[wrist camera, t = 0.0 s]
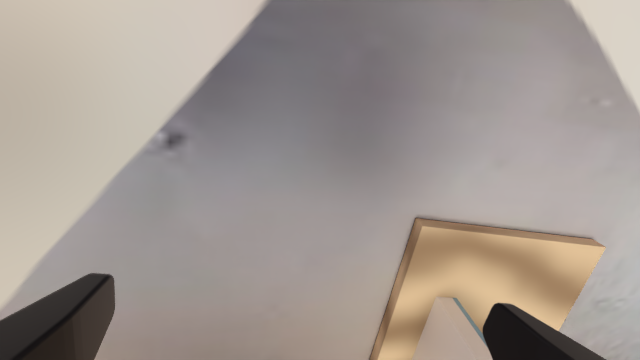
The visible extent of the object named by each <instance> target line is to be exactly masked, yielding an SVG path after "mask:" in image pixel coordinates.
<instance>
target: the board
mask: <svg viewBox="0 0 640 360" xmlns="http://www.w3.org/2000/svg"><path fill="white" fill-rule="evenodd" d="M605 248H606V247H605V246H603V245H601V244H600V243H598V242H596V241H595V240H593V239H586V238H577V237H569V236H561V235H552V234H544V233H536V232H527V231H519V230H511V229H502V228H494V227H486V226H477V225H469V224H461V223H452V222H444V221H436V220H427V219H419V218H416V219H415V222H414V225H413V228H412V231H411V235H410V238H409V241H408V244H407V247H406V250H405V253H404V256H403V259H402V262H401V265H400V268H399V271H398V274H397V277H396V281H395V284H394V287H393V290H392V293H391V296H390V299H389V302H388V305H387V308H386V311H385V314H384V317H383V320H382V324H381V327H380V330H379V333H378V336H377V339H376V342H375V345H374V348H373V351H372V354H371V357H370V360H412V358H413V355H414V353H415V350H416V347H417V345H418V342H419V340H420V337H421V334H422V332H423V329H424V327H425V324H426V321H427V319H428V316H429V314H430V311H431V308H432V306H433V303H434V301H435V298H436V297H450V298H457V299H458V301H459V302H460V303H461V305H462V306H463V308H464V309H465V310H466V312H467V313H468V314H469V316H470V317H471V319H472V320H473V321H474V323H475V324H476V326H477V327H478V328H479V330H480V331H481V332H482V329H483V325H484V323H485V321H486V319H487V316H488V314H489V312H490V310H491V308H492V306H493V305H494V304H495V303H509V304H513V305H515V306H517V307H518V308H520V309H522V310H523V311H525V312H527V313H528V314H530V315H532V316H533V317H535V318H537V319H538V320H540V321H542V322H544V323H545V324H547V325H549V326H550V327H552V328H554V329H555V330H557V331H559V329H560V327H561V326H562V324H563V322H564V320H565V319H566V317H567V315H568V313H569V312H570V310H571V308H572V306H573V305H574V303H575V301H576V299H577V298H578V296H579V294H580V292H581V291H582V289H583V287H584V285H585V283H586V282H587V280H588V278H589V276H590V275H591V273H592V271H593V269H594V268H595V266H596V264H597V262H598V261H599V259H600V257H601V255H602V254H603V252H604V250H605ZM482 334H483V332H482Z"/></svg>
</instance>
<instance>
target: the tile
mask: <svg viewBox="0 0 640 360" xmlns="http://www.w3.org/2000/svg"><path fill="white" fill-rule="evenodd" d="M412 360H493V359H492V357H491V354H490V352H489V349H488V347H487V345H486V342H485V340H484V337H483V334H482V332H481V331H480V330H479V328H478V327H477V326H476V324H475V323H474V321H473V320H472V319H471V317H470V316H469V314H468V313H467V312H466V310H465V309H464V308H463V306H462V305H461V303H460V302H459V301H458V299H457V298H450V297H436V298H435V301H434V303H433V306H432V308H431V311H430V314H429V316H428V319H427V321H426V324H425V327H424V329H423V332H422V334H421V337H420V340H419V342H418V345H417V347H416V350H415V353H414V355H413V358H412Z"/></svg>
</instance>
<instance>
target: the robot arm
mask: <svg viewBox="0 0 640 360" xmlns="http://www.w3.org/2000/svg"><path fill="white" fill-rule="evenodd" d="M114 310H115V289H114V278H113V276H112V275H110V274H98V273H91V274H88V275H86V276H84V277H82V278H80V279H78V280H76V281H74V282H72V283H70V284H69V285H67V286H65V287H63V288H61V289H59V290H57V291H55V292H53V293H51V294H50V295H48V296H46V297H44V298H42V299H40V300H38V301H36V302H34V303H33V304H31V305H29V306H27V307H25V308H23V309H21V310H19V311H17V312H15V313H14V314H12V315H10V316H8V317H6V318H4V319H2V320H0V360H94V359H95V356H96V354H97V352H98V350H99V347H100V345H101V343H102V340H103V338H104V336H105V333H106V331H107V329H108V327H109V324H110V322H111V320H112V317H113V314H114ZM482 332H483V337H484V340H485V342H486V345H487V347H488V349H489V352H490V354H491V357H492V359H493V360H606V359H604V358H603V357H601V356H599V355H598V354H596V353H594V352H592V351H591V350H589V349H587V348H586V347H584V346H582V345H581V344H579V343H577V342H576V341H574V340H572V339H571V338H569V337H567V336H565V335H564V334H562V333H560V332H559V331H557V330H555V329H554V328H552V327H550V326H549V325H547V324H545V323H544V322H542V321H540V320H538V319H537V318H535V317H533V316H532V315H530V314H528V313H527V312H525V311H523V310H522V309H520V308H518V307H517V306H515V305H513V304H509V303H495V304H494V305H493V306H492V308H491V310H490V312H489V314H488V316H487V319H486V321H485V323H484V325H483V329H482Z"/></svg>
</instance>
